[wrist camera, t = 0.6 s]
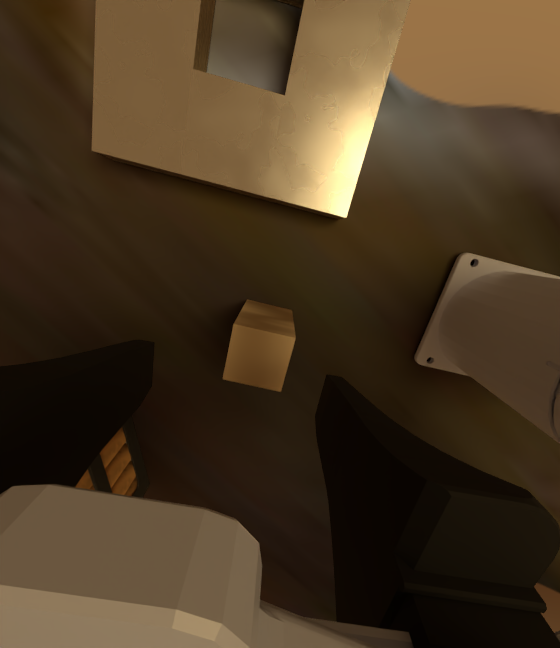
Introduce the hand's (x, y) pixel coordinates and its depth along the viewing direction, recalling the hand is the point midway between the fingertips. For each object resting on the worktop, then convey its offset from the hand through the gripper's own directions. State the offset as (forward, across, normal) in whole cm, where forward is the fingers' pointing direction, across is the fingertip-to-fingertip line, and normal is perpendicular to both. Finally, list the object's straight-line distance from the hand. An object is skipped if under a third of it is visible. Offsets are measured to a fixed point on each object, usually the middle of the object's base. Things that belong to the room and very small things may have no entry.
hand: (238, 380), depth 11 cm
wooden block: (+8, -1, 0) cm, 9 cm away
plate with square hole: (+8, +3, -15) cm, 17 cm away
